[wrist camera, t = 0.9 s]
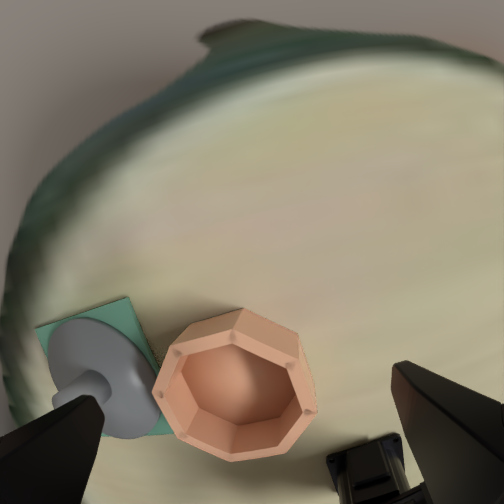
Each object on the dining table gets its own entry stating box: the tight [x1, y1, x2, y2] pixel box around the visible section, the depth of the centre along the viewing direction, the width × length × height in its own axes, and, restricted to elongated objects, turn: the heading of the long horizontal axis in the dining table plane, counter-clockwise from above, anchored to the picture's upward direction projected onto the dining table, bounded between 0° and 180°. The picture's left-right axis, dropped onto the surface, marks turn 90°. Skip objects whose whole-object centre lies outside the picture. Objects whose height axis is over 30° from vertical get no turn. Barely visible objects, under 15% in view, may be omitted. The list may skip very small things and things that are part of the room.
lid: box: [48, 317, 162, 439], centre depth 19 cm, size 12×12×5 cm
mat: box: [35, 297, 175, 436], centre depth 22 cm, size 12×12×1 cm
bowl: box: [151, 308, 317, 462], centre depth 19 cm, size 10×10×4 cm
